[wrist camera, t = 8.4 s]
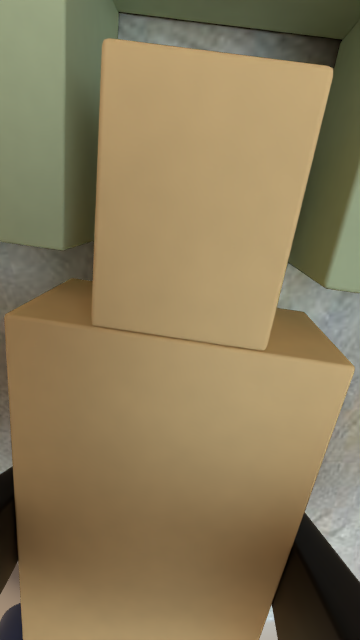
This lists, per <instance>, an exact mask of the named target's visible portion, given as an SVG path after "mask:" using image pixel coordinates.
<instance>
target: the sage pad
mask: <svg viewBox="0 0 360 640" xmlns="http://www.w3.org/2000/svg"><path fill="white" fill-rule="evenodd" d="M118 12H126V13H134V14H142V15H150V16H158V17H166V18H174V19H182V20H190V21H199V22H207V23H215V24H223V25H231V26H239V27H247V28H255V29H263V30H271V31H279V32H287V33H295V34H303V35H311V36H319V37H327V38H335V39H343V40H342V42H341V43H340V47H339V51H338V55H337V59H336V63H335V67H334V71H333V79H332V83H331V87H330V91H329V95H328V99H327V103H326V107H325V112H324V116H323V120H322V124H321V128H320V132H319V136H318V140H317V144H316V148H315V152H314V157H313V161H312V165H311V169H310V173H309V177H308V181H307V185H306V189H305V193H304V198H303V202H302V206H301V210H300V214H299V218H298V222H297V226H296V230H295V234H294V238H293V243H292V247H291V251H290V255H289V259H288V263H290V264H291V265H293V266H294V267H295V268H297V269H298V270H300V271H301V272H303V273H304V274H306V275H307V276H308V277H310V278H311V279H313V280H314V281H316V282H317V283H319V284H320V285H321V286H323V287H324V288H326V289H333V290H340V291H347V292H354V293H360V0H0V242H5V243H12V244H19V245H26V246H33V247H40V248H47V249H54V250H61V251H63V250H66V249H69V248H72V247H75V246H79V245H82V244H85V243H88V242H91V241H94V234H95V208H96V182H97V157H98V131H99V106H100V80H101V55H102V44H103V41H104V39H108V38H111V39H118V21H119V14H118Z"/></svg>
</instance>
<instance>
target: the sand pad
mask: <svg viewBox="0 0 360 640" xmlns="http://www.w3.org/2000/svg"><path fill="white" fill-rule="evenodd" d="M332 79H333V68H331V67H329V66H325V65H317V64H309V63H301V62H293V61H285V60H278V59H270V58H262V57H254V56H246V55H238V54H230V53H222V52H214V51H206V50H198V49H191V48H183V47H175V46H167V45H159V44H151V43H143V42H135V41H127V40H119V39H111V38H108V39H104V41H103V44H102V55H101V80H100V106H99V131H98V157H97V182H96V208H95V234H94V259H93V281H89V280H82V279H75V278H72V279H69V280H67V281H66V282H64V283H62V284H60V285H58V286H56V287H55V288H53V289H51V290H49V291H47V292H45V293H44V294H42V295H40V296H38V297H36V298H34V299H33V300H31V301H29V302H27V303H25V304H23V305H21V306H20V307H18V308H16V309H14V310H12V311H10V312H9V313H7V314H6V315H5V317H4V324H5V341H6V358H7V375H8V392H9V409H10V426H11V443H12V460H13V478H14V495H15V512H16V529H17V546H18V563H19V578H20V579H19V580H20V597H21V614H22V631H23V640H259V638H260V635H261V632H262V630H263V627H264V624H265V621H266V618H267V616H268V613H269V610H270V607H271V604H272V602H273V599H274V596H275V593H276V590H277V588H278V585H279V582H280V579H281V576H282V573H283V571H284V568H285V565H286V562H287V559H288V557H289V554H290V551H291V548H292V545H293V543H294V540H295V537H296V534H297V531H298V528H299V526H300V523H301V520H302V517H303V514H304V512H305V509H306V506H307V503H308V500H309V498H310V495H311V492H312V489H313V486H314V483H315V481H316V478H317V475H318V472H319V469H320V467H321V464H322V461H323V458H324V455H325V453H326V450H327V447H328V444H329V441H330V438H331V436H332V433H333V430H334V427H335V424H336V422H337V419H338V416H339V413H340V410H341V408H342V405H343V402H344V399H345V396H346V393H347V391H348V388H349V385H350V382H351V379H352V377H353V374H354V371H355V368H354V366H353V365H352V363H351V362H350V361H349V360H348V359H347V358H346V357H345V356H344V355H343V354H342V353H341V352H340V350H339V349H338V348H337V347H336V346H335V345H334V344H333V343H332V342H331V341H330V340H329V339H328V337H327V336H326V335H325V334H324V333H323V332H322V331H321V330H320V329H319V328H318V327H317V326H316V324H315V323H314V322H313V321H312V320H311V319H310V318H309V317H308V316H307V315H306V314H305V313H304V312H300V311H294V310H287V309H280V308H277V304H278V300H279V296H280V292H281V288H282V284H283V279H284V275H285V271H286V267H287V263H288V259H289V255H290V251H291V247H292V243H293V238H294V234H295V230H296V226H297V222H298V218H299V214H300V210H301V206H302V202H303V198H304V193H305V189H306V185H307V181H308V177H309V173H310V169H311V165H312V161H313V157H314V152H315V148H316V144H317V140H318V136H319V132H320V128H321V124H322V120H323V116H324V112H325V107H326V103H327V99H328V95H329V91H330V87H331V83H332Z"/></svg>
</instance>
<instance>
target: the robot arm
mask: <svg viewBox="0 0 360 640" xmlns="http://www.w3.org/2000/svg"><path fill="white" fill-rule="evenodd" d="M17 562H18V546H17V529H16V512H15V495H14V478H13V466H12V467H11V468H9V469H8V470H6V471H5V472H3V473H2V474H0V594H1V592H2V590H3V588H4V587H5V585H6V583H7V581H8V579H9V577H10V575H11V573H12V571H13V569H14V568H15V566H16V564H17ZM272 608H273V614H274V620H275V625H276V630H277V637H278V640H360V582H359V581H358V579H357V578H356V577H355V576H354V574H353V573H352V572H351V571H350V569H349V568H348V567H347V565H346V564H345V563H344V562H343V560H342V559H341V558H340V557H339V555H338V554H337V553H336V551H335V550H334V549H333V548H332V546H331V545H330V544H329V543H328V541H327V540H326V539H325V538H324V536H323V535H322V534H321V532H320V531H319V530H318V529H317V527H316V526H315V525H314V524H313V522H312V521H311V520H310V518H309V517H308V516H307V515H306V513H305V512H304V514H303V517H302V520H301V523H300V526H299V528H298V531H297V534H296V537H295V540H294V543H293V545H292V548H291V551H290V554H289V557H288V559H287V562H286V565H285V568H284V571H283V573H282V576H281V579H280V582H279V585H278V588H277V590H276V593H275V596H274V599H273V602H272Z"/></svg>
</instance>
